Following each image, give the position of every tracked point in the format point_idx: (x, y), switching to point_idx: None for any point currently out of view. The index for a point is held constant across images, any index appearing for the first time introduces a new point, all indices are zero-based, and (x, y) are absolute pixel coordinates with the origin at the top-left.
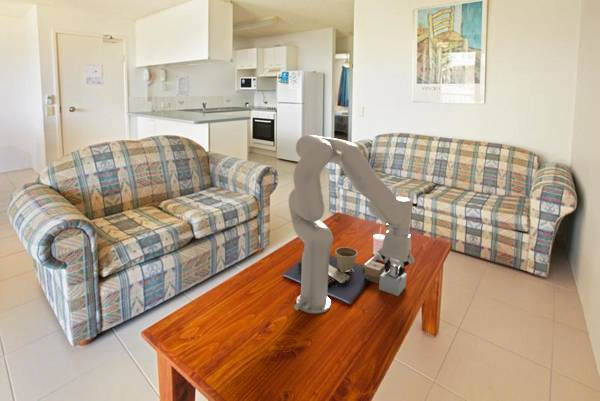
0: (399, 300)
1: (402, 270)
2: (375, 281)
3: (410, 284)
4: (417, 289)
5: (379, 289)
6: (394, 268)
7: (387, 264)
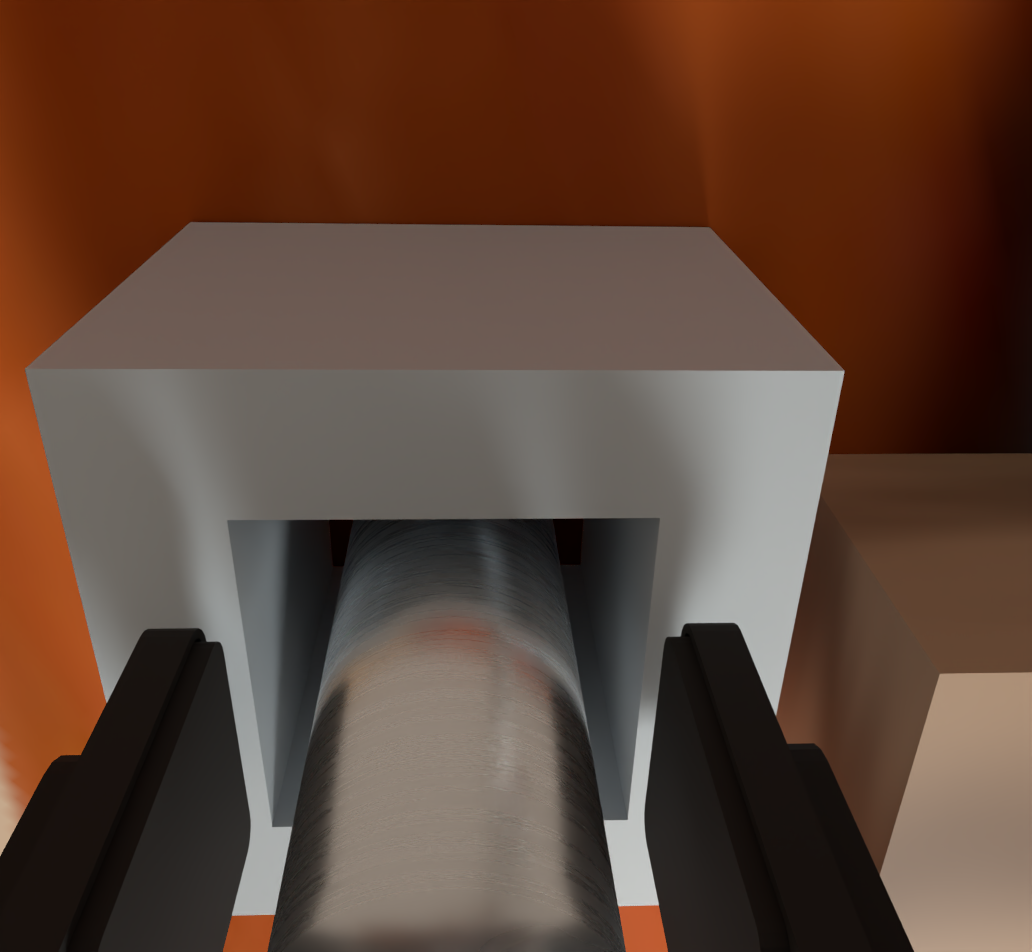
0: (55, 32)
1: (7, 893)
2: (864, 467)
3: None
4: (30, 696)
5: (684, 228)
6: (372, 848)
7: (766, 926)
